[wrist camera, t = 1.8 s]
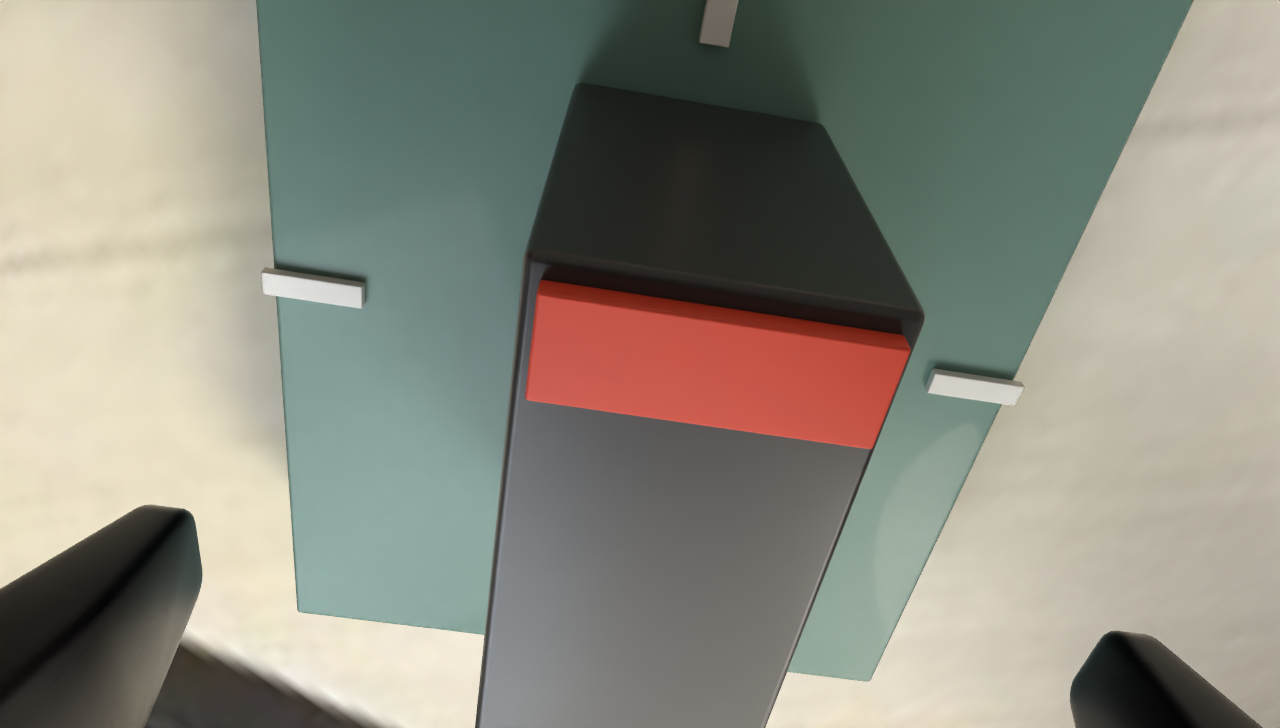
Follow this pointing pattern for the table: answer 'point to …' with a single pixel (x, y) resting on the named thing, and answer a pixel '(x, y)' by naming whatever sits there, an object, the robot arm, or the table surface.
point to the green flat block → (508, 202)
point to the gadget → (683, 414)
